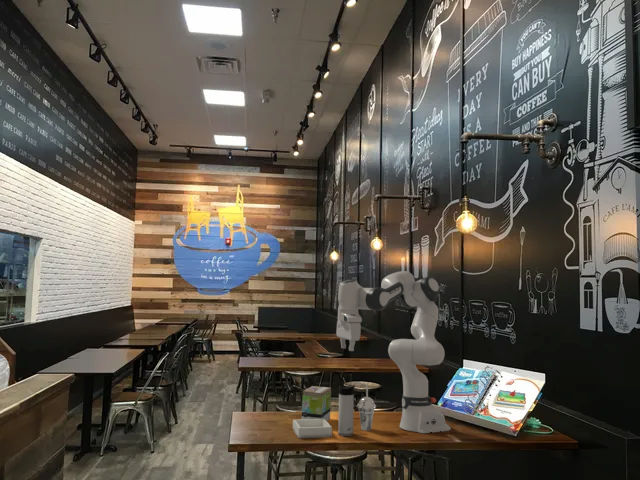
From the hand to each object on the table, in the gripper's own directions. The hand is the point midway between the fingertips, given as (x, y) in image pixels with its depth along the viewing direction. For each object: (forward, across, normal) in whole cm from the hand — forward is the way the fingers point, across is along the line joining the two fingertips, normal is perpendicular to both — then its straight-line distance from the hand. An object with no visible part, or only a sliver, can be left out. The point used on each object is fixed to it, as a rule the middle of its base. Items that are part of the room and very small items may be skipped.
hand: (347, 349), depth 218 cm
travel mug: (+36, 0, 0) cm, 36 cm away
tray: (+35, -5, -14) cm, 38 cm away
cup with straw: (+35, -6, +12) cm, 38 cm away
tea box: (+36, -23, -6) cm, 43 cm away
